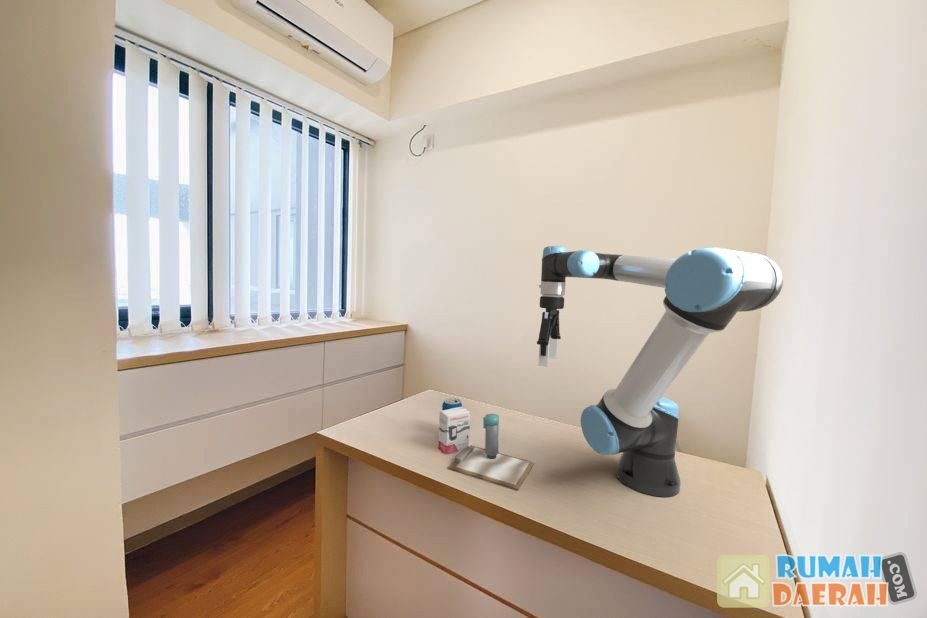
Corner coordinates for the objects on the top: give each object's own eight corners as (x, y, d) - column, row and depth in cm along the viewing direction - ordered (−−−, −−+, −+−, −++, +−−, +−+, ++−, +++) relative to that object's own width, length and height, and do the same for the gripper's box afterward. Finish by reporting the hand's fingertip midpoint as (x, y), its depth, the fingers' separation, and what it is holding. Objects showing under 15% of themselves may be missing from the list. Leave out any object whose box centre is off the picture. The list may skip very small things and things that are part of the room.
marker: (499, 454, 104) (500, 414, 103) (497, 460, 100) (497, 419, 99) (484, 452, 105) (484, 413, 104) (481, 458, 101) (482, 417, 100)
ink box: (446, 455, 104) (447, 416, 103) (437, 448, 108) (439, 410, 107) (469, 448, 108) (471, 411, 108) (460, 441, 113) (462, 406, 112)
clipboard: (533, 463, 101) (534, 458, 100) (517, 490, 87) (518, 484, 87) (470, 446, 109) (471, 441, 109) (447, 468, 96) (447, 462, 96)
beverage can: (464, 437, 116) (465, 402, 115) (447, 442, 112) (449, 405, 111) (453, 430, 121) (455, 396, 120) (437, 434, 117) (438, 399, 116)
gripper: (549, 294, 124) (545, 354, 126) (529, 295, 102) (525, 367, 103) (570, 295, 121) (566, 356, 122) (556, 297, 98) (551, 371, 100)
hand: (548, 362), depth 113 cm, fingers open, 13 cm apart
